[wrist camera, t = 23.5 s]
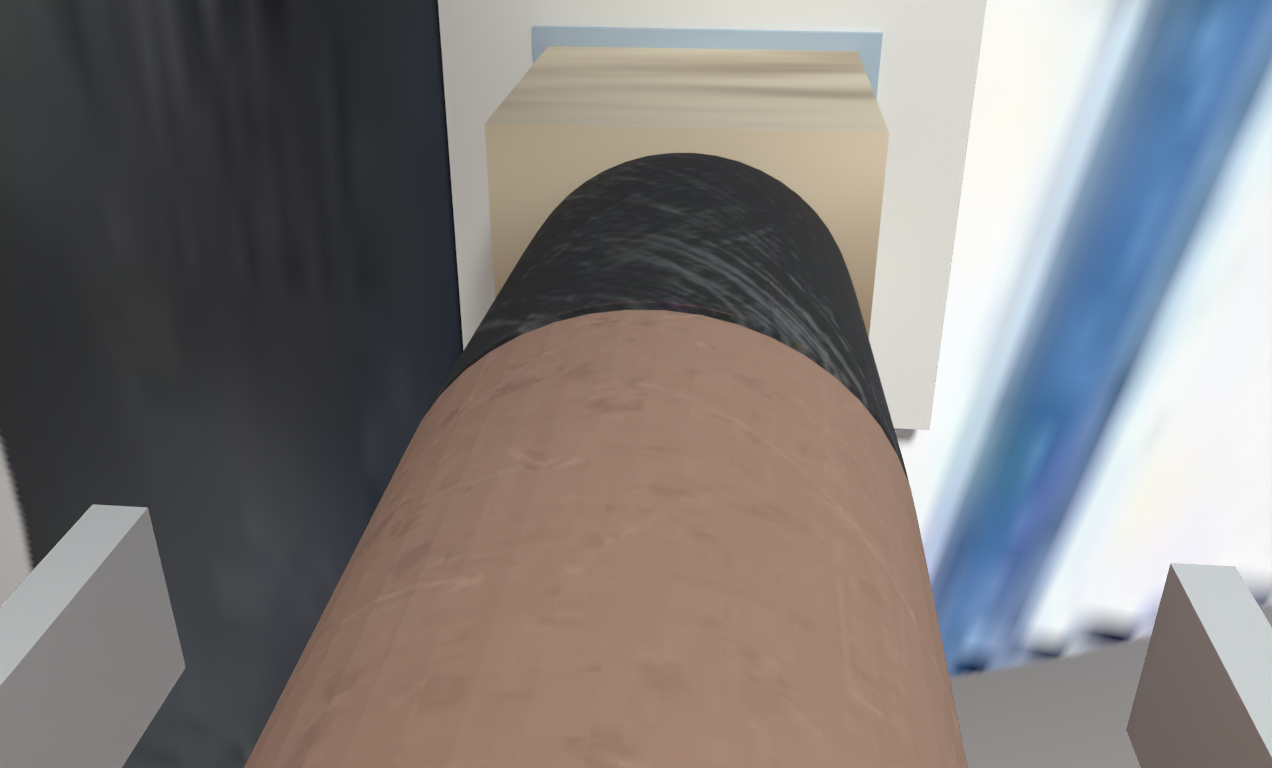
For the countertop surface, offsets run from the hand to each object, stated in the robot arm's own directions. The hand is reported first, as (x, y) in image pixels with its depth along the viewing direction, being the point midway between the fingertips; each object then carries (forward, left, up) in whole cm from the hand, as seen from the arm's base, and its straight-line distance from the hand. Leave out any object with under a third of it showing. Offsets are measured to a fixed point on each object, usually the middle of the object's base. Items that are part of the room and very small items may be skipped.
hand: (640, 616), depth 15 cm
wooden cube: (0, 0, -19) cm, 19 cm away
